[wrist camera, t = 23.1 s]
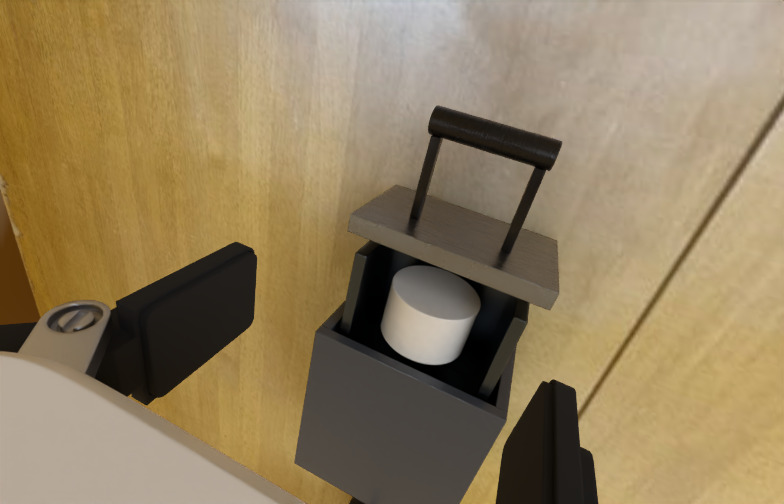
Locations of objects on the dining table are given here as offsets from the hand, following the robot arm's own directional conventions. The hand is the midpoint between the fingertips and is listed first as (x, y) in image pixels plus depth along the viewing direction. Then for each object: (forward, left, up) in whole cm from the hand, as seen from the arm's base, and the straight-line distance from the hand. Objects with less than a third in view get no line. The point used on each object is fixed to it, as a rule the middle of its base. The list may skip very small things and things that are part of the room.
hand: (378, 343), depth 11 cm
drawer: (+4, +3, -18) cm, 19 cm away
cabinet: (+16, +9, -19) cm, 26 cm away
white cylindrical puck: (+5, +3, -14) cm, 15 cm away
